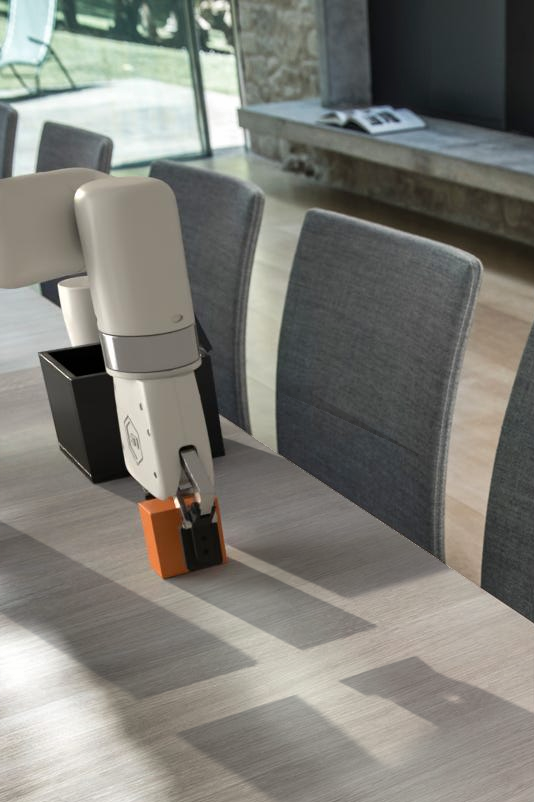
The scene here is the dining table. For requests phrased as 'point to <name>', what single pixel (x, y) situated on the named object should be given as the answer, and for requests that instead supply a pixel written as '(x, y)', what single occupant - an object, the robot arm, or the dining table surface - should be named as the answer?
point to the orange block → (168, 535)
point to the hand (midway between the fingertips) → (186, 548)
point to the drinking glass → (78, 311)
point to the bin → (104, 409)
